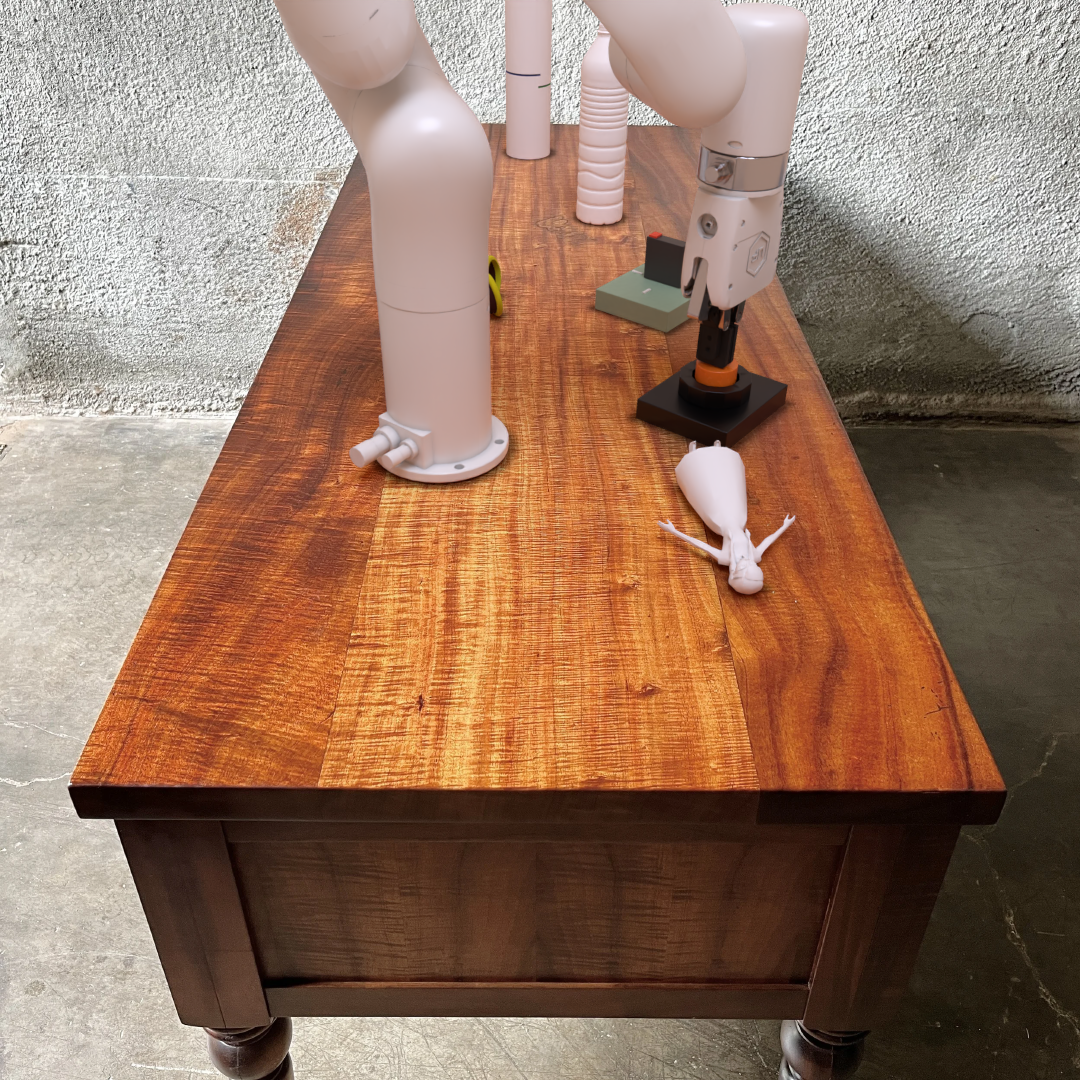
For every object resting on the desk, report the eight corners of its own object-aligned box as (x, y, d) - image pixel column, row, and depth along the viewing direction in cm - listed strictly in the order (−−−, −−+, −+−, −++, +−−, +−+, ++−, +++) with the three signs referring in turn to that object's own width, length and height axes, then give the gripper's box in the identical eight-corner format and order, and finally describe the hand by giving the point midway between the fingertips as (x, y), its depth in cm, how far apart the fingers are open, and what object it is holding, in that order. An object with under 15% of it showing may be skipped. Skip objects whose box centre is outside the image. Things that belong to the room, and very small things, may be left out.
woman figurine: (771, 427, 91) (832, 564, 78) (763, 468, 94) (820, 607, 81) (641, 432, 91) (679, 571, 77) (637, 472, 93) (673, 614, 80)
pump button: (722, 392, 98) (724, 376, 97) (686, 380, 100) (688, 363, 99) (743, 377, 101) (746, 361, 100) (708, 365, 103) (710, 349, 102)
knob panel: (666, 333, 117) (668, 311, 115) (594, 309, 122) (595, 287, 120) (729, 293, 126) (732, 272, 124) (660, 272, 131) (661, 252, 129)
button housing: (724, 453, 97) (729, 415, 94) (635, 418, 102) (638, 382, 99) (785, 404, 104) (791, 368, 102) (699, 373, 109) (703, 339, 107)
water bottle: (620, 227, 143) (632, 28, 128) (573, 224, 144) (579, 26, 129) (625, 205, 150) (636, 15, 135) (580, 203, 151) (587, 13, 136)
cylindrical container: (501, 148, 172) (499, -22, 157) (542, 144, 173) (544, -24, 158) (513, 160, 166) (512, -14, 151) (555, 157, 168) (558, -16, 153)
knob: (686, 284, 121) (691, 240, 118) (679, 288, 120) (683, 244, 117) (651, 273, 124) (654, 230, 121) (643, 277, 123) (646, 234, 120)
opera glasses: (462, 295, 126) (452, 256, 123) (504, 286, 126) (495, 247, 123) (461, 330, 119) (451, 290, 116) (506, 321, 118) (497, 280, 115)
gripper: (736, 198, 82) (707, 402, 93) (821, 157, 91) (785, 347, 102) (656, 177, 86) (637, 376, 96) (746, 140, 95) (719, 325, 106)
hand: (714, 360), depth 99 cm, fingers closed
